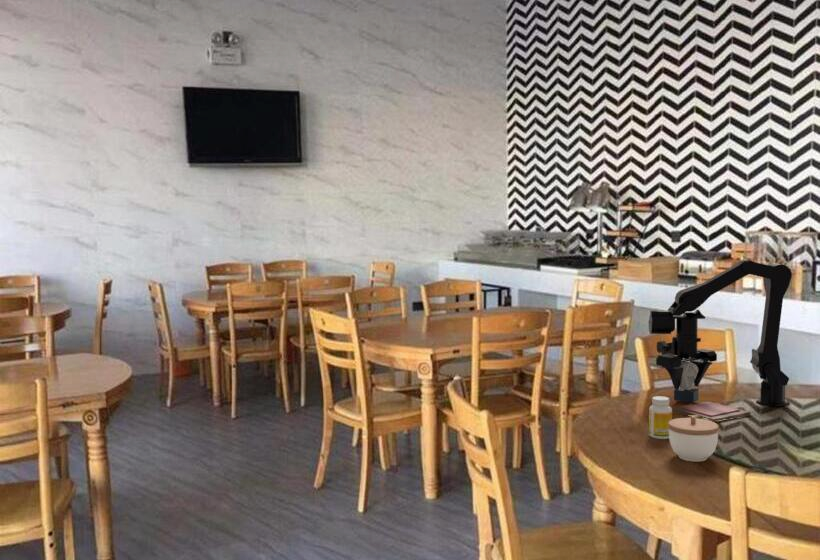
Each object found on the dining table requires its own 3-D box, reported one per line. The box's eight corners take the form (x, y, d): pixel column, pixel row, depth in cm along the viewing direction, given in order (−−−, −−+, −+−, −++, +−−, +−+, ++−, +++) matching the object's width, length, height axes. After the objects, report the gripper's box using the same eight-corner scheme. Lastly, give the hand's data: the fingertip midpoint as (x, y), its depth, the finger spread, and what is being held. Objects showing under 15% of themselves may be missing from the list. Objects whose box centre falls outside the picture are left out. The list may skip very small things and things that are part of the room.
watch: (700, 398, 228) (700, 360, 227) (691, 404, 222) (691, 365, 221) (681, 395, 231) (681, 358, 230) (671, 401, 225) (671, 363, 224)
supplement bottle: (644, 435, 196) (644, 397, 195) (660, 432, 198) (661, 394, 197) (659, 440, 191) (660, 401, 190) (676, 437, 193) (676, 398, 192)
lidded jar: (691, 467, 171) (692, 425, 170) (657, 454, 180) (657, 414, 180) (729, 460, 175) (729, 419, 174) (693, 447, 185) (694, 408, 184)
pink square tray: (707, 404, 224) (707, 399, 224) (749, 415, 211) (749, 410, 211) (672, 411, 217) (672, 406, 217) (713, 423, 205) (713, 417, 205)
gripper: (687, 327, 236) (687, 378, 238) (641, 333, 227) (641, 386, 229) (718, 332, 227) (717, 385, 228) (671, 338, 218) (671, 394, 219)
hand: (686, 387), depth 226 cm, fingers closed on watch, 7 cm apart
